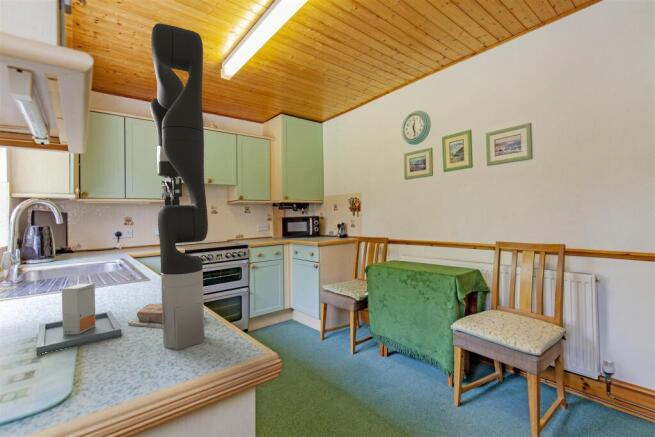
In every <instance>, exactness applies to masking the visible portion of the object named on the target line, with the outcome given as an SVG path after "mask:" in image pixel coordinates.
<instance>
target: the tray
mask: <svg viewBox="0 0 655 437" xmlns="http://www.w3.org/2000/svg"><path fill="white" fill-rule="evenodd" d="M95 323H96V326H95V327H93V328H91V329H89V330H86V331H84V332H82V333H80V334H78V335H63V319H61V320H56V321H50V322H45V323H44V322H43V323H39V327H38V334H37V341H36V356H40V355H39V354H41V355H43V354H42V353H45V352H50V353H52V352H51V351H54V352H57V351H56V350H58V351H61V350H60V349H63V350H66V349H65V348H67V349H71V348H75V347H79V346H85V345H87V344H92V343H97V342H101V341H104V340H105V341H106V340H109V339H114V338H117V337H121V336H122V328H121V326H120V324H119V323H118V321H117V319H116V317H115V316H114V314H113V313H112V311H111V310H108V311H104V312H100V313H95ZM70 347H71V348H70Z"/></svg>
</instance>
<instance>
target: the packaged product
mask: <svg viewBox="0 0 655 437" xmlns="http://www.w3.org/2000/svg"><path fill="white" fill-rule="evenodd" d="M136 316H137V318H135V319H133V320H131V321H130V322H127V326H132V327H146V328H154V329H155V328H156V329H163V322H162V303H148V304H146V305H145V306H144V307H142V308H141V309H140V310H138V311H137V313H136Z"/></svg>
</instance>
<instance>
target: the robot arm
mask: <svg viewBox="0 0 655 437" xmlns="http://www.w3.org/2000/svg"><path fill="white" fill-rule="evenodd" d="M150 43H151V55H152V62H153V68H154V73H155V78H156V81H157V82H156V84H157V89H156V90H157V91H156V98H153V99H152V100H151V102H150V105H149V110H150V112H151V113H150V114H151V116H152V119H153V121H154V125H155V128H156V133H157V134H156V135H157V154H156V158H157V161H156V162H157V175H158V176H159V177H161V178H162V177H163V178H164V180H161V199H162V200H163V202H164V204H163V206H161V207H160V208H159V210H158V213H157V228H158V237H159V239H158V240H159V251H160V253H159V254H160V256H159V257H160V282H161V284H160V285H161V288H160V289H161V304H162V322H163V328H162V342H163V346H164V347H165V348H167V349H175V350H176V351H177V350H181V349H185V348H188V347H192V346H195V345H199V344H202V343H205V342H204V341H205V340H204V339H205V337H206V336H205V313H204V312H205V310H204V308H205V306H204V304H205V303H204V278H203V276H204V274H203V260H202V258H201V257H200V256H196V255H191V254H187V253H184V252H182V251H180V250H178V248H177V246H176V244H186V243H200V242H203V241H205V240H206V238H207V237H208V231H209V217H208V207H207V206H208V205H207V196H206V187H205V132H204V116H203V75H204V74H203V73H204V72H203V70H204V45H203V39H202V37H201V35H200V34H199V33H198V32H196V31H193V30H190V29H186V28H183V27H178V26H175V25H170V24H166V23H155V24H154V26H153V28H152V30H151V41H150ZM174 70H176V71H182V72H187V74H188V79H187V81H186V83H185V85H184V84H183V81H182V80H181V79H180V76H178V74H176V72H175V71H174ZM182 182H183V183H182ZM182 184H184V185H185V188H186V190H187V192H188V195H189V199H190V205H189V204H186V205H184V204H183V205H181V202H180V200H181V198H182V197H183V187H182V186H183V185H182Z"/></svg>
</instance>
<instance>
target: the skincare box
mask: <svg viewBox="0 0 655 437" xmlns="http://www.w3.org/2000/svg"><path fill="white" fill-rule="evenodd" d="M95 286H96V285H95V283H78V284H75V285H70V286H67V287H65V288H62V289H61V305H62V308H61V309H62V311H61V312H62V320H63V335H78V334H80V333H82V332H84V331H86V330H89V329H91V328H93V327H95V326H96V323H95V314H96V296H95V295H96V291H95V290H96V289H95V288H96V287H95Z"/></svg>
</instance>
